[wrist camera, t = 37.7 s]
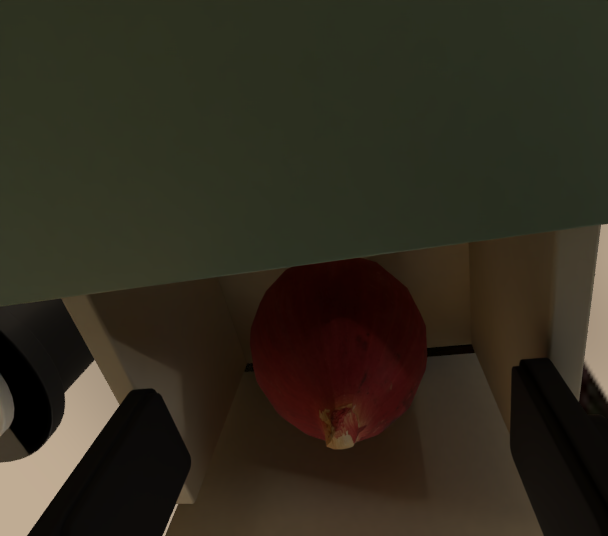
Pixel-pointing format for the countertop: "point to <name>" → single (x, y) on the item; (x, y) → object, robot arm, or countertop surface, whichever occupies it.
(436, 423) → the drawer
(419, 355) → the onion
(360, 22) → the cabinet
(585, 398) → the countertop surface
